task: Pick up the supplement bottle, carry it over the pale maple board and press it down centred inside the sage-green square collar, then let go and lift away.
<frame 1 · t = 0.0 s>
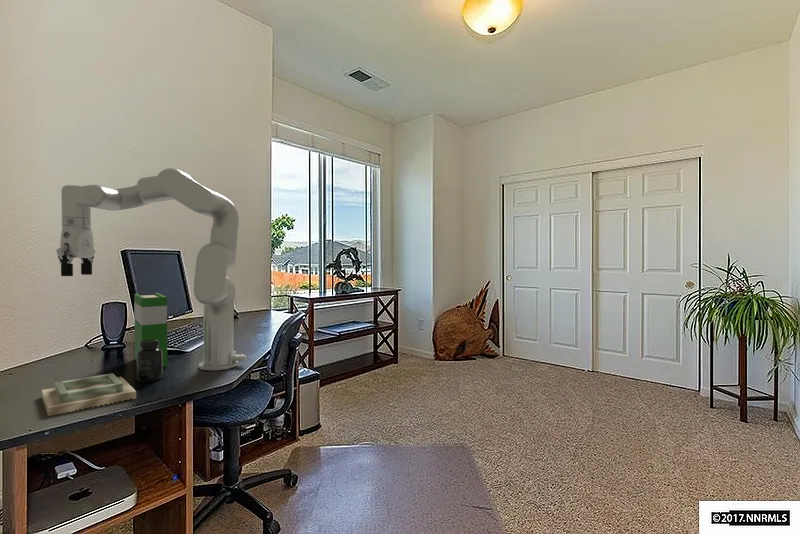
hand: (77, 275, 138), 31 cm above the table, tool pointing down, fingers open, 9 cm apart
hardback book: (150, 363, 147), on the table
socket board: (89, 397, 111), on the table
supplement bottle: (149, 380, 128), on the table
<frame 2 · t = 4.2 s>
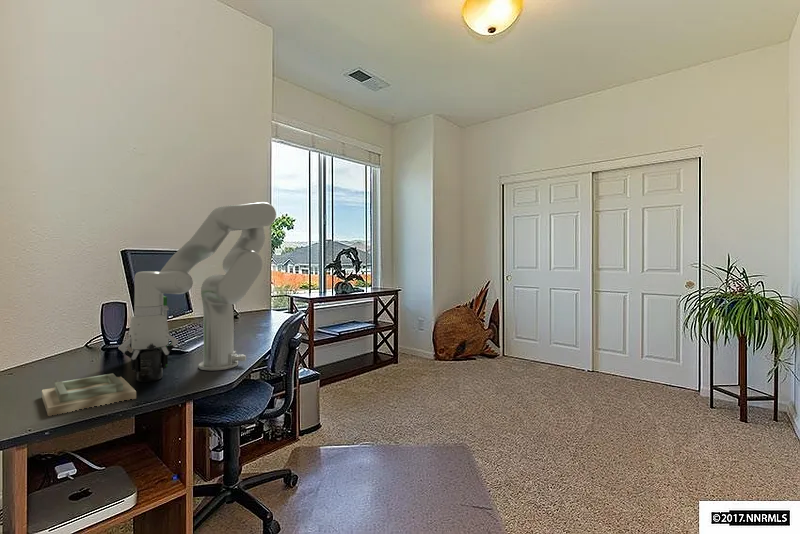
hand: (149, 368, 128), 3 cm above the table, tool pointing down, fingers closed on supplement bottle, 6 cm apart
supplement bottle: (149, 380, 128), on the table, touching gripper
everything else where it was.
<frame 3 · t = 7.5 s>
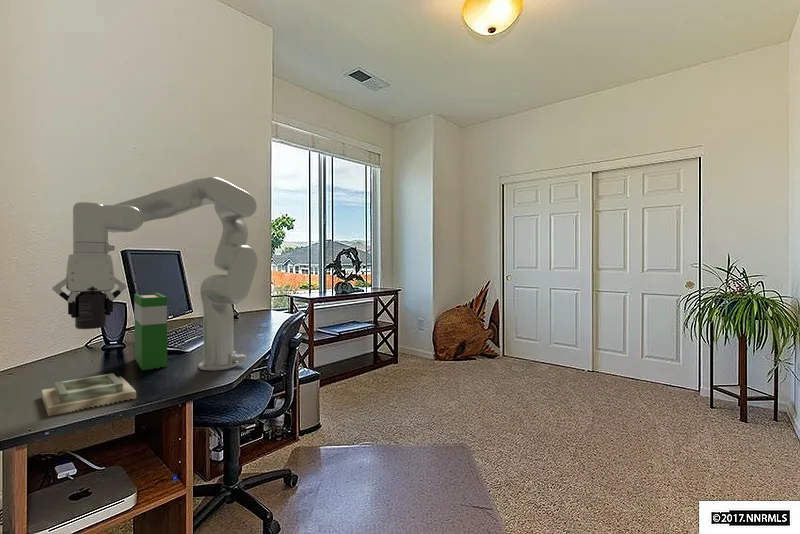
hand: (91, 315, 111), 22 cm above the table, tool pointing down, fingers closed on supplement bottle, 6 cm apart
supplement bottle: (91, 328, 111), point 19 cm above the table, touching gripper
everything else where it was.
when the fingers open (6 cm above the table, at t = 11.3 s): supplement bottle stays where it is, resting on socket board.
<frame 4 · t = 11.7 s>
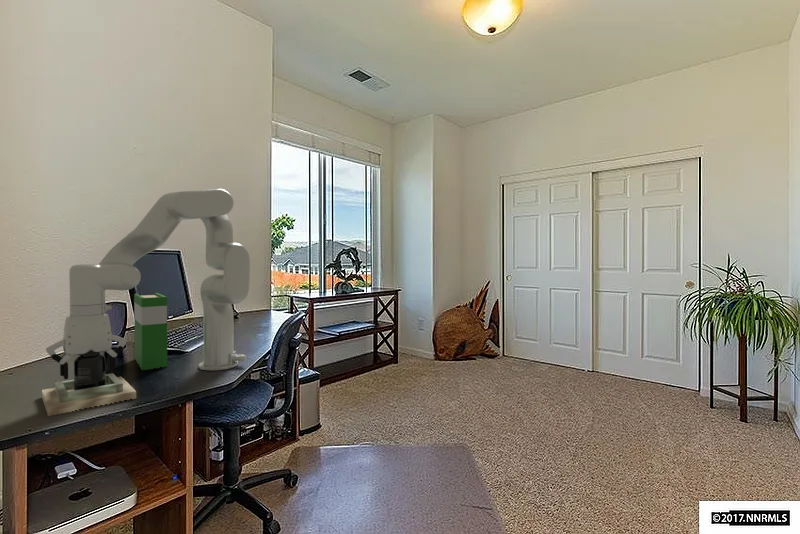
hand: (88, 374, 111), 6 cm above the table, tool pointing down, fingers open, 9 cm apart
supplement bottle: (89, 390, 111), point 2 cm above the table, touching socket board
everything else where it was.
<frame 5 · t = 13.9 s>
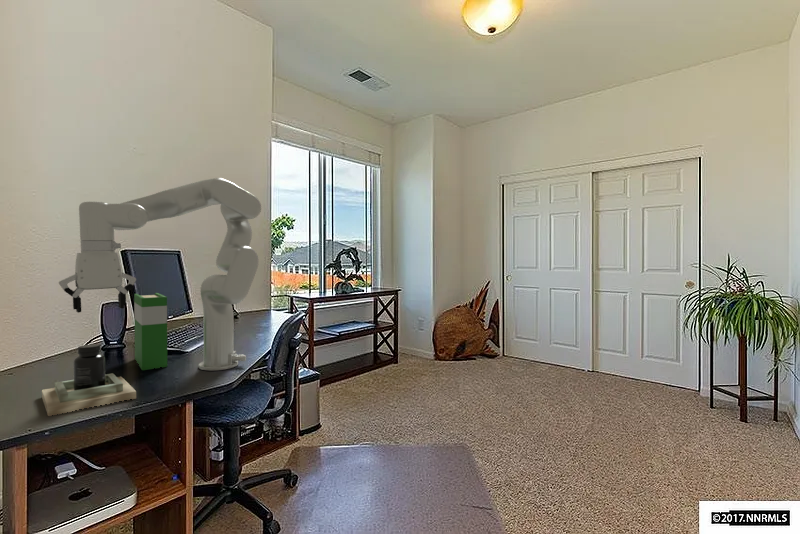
hand: (100, 309, 114), 23 cm above the table, tool pointing down, fingers open, 9 cm apart
nothing on the table moved.
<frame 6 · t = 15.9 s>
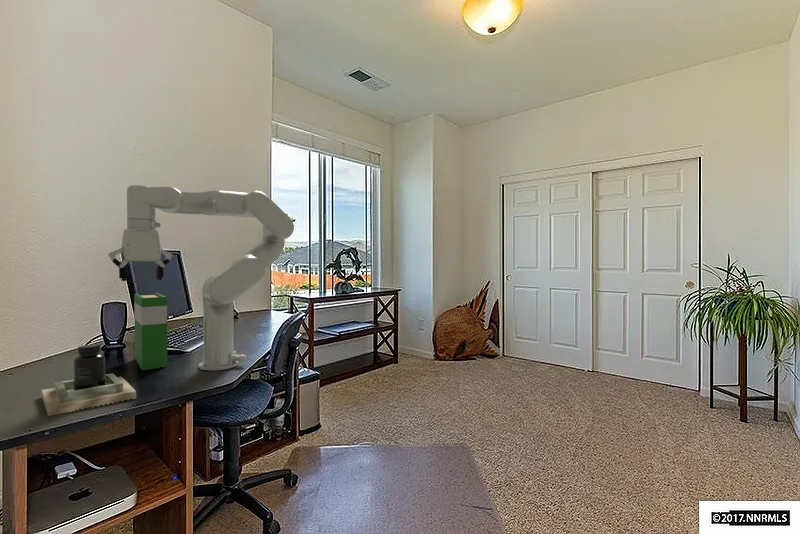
hand: (141, 280, 130), 30 cm above the table, tool pointing down, fingers open, 9 cm apart
nothing on the table moved.
at the end: supplement bottle 0.2 cm off-centre on the socket board, point 1.8 cm above the socket board's base; supplement bottle tilted 0°; the gripper is holding nothing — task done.
